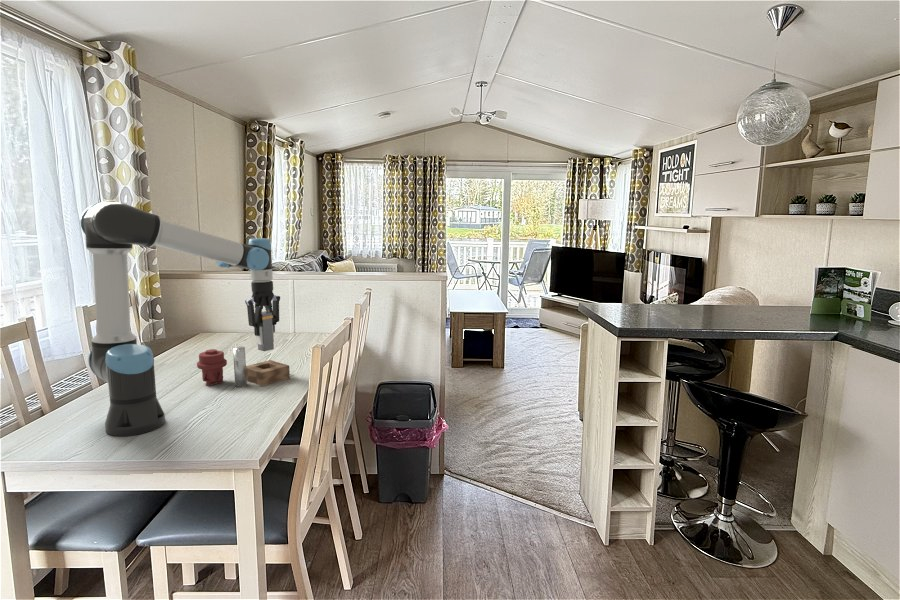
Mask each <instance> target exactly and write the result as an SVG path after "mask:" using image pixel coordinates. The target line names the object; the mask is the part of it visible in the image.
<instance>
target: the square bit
mask: <svg viewBox="0 0 900 600" xmlns="http://www.w3.org/2000/svg"><path fill="white" fill-rule="evenodd" d="M272 318H273V315H272V313H271V312H266V310H265V311H262V314H261V322H260V327H262V336H263V344H262V345H260V344H257V350H258V351H261V352H268V351H273V350H275V349H274V347H275V346H274V342H273V325H272Z"/></svg>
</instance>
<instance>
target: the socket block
mask: <svg viewBox="0 0 900 600" xmlns="http://www.w3.org/2000/svg"><path fill="white" fill-rule="evenodd" d="M290 375H291V373H290V365H289V364H285V363H282V362H279V361H275V360H271V359H269V360H266V361H262V362H261V361H260V362H257V363H253V364H249V365H246V376H247V383H248V382H249V383H252V384H254V385H257V386H261V387H264V386H267V385H271V384H275V383H277V382H282V381H285V380H288V379H290V378H291V376H290Z"/></svg>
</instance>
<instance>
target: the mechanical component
mask: <svg viewBox="0 0 900 600" xmlns="http://www.w3.org/2000/svg"><path fill="white" fill-rule="evenodd" d="M227 361H228V360H227V359H226V358H225V352H224V351H222V350H218V349H215V348H211V349H207V350H205V351H202V352H200V353H199V354H198V361H197V362H196V368H197V369H200V370H201V377H202V378H201V379H202V381H203V382H205V383H206V386H213V385H215V384H223V382H224V367H226V366H227V365H228V362H227Z"/></svg>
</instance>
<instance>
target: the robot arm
mask: <svg viewBox="0 0 900 600" xmlns="http://www.w3.org/2000/svg"><path fill="white" fill-rule="evenodd" d="M79 224H80V227H81V230H82V232H83V234H84V235H85V247H86V250H88V251H89V252H90V253H91V254H92V260H93V262H92V263H93V278H94V279H93V280H94V297H95V314H96V316H95V317H96V319H95V320H96V333H97V334H96V335H95V336H94V337H93V338H91V350H90V353H88V361H87V362H88V366H89V368H90V371H91V372H92V374H94V375H95V376H96V377H97V378H99V379H100V380H102V381H104V382H106V383H107V384H108V393H109V394H108V395H109V403H110V404H109V407H108V410H107V411H108V412H107V415H106V419H105V422H104V429H105V433H106V434H107V435H109V436H114V437H117V436H118V437H127V436H135V435H136V436H137V435H142V434H145V433H148V432H149V433H150V432H152V431H154V430H157V429H158V428H160V427H162V426H163V425H164V424H165V423H166V415H165V414H166V413H165V412H164V409H163V408H162V406H161V404H160V402H159V400H158V397H157V387H156V374H155V358H154V354H153V350H152V349H151V348H150V347H149V346H148V345H145V344H138V342H137V341H138V339H137V336H136V335H135V334H134V333H132V331H131V315H130V313H131V312H130V292H129V291H130V290H129V271H128V254H129V253H130V251H132V250H133V246H134V245H136V246H142V247H146V248H152V247H161V248H164V249H169V250H172V251H176V252H181V253H183V254H188V255H193V256H196V257H199V258H200V257H201V258H204V259H207V260H212V261H215V263H216V264H217V266H218V267H220V268H228V269H229V268H238V269H247V270H250V280H251V283H250V284H251V285H250V286H251V293H252V295H251V297H250V298H249V299H245V301H244V303H245V305H246V309H247V319H248V326H250V327H253V328H254V329H253V331H254V336H255V337H256V344H257V345H258V344H260V345H262V344H263V336H262V327H260V322H261V314H262V312H263V309H264V308H265V311H266V312H271V313H272V315H273V318H272V325H273V343H274V342H275V338H274V336H275V335H274V333H275V332H276V325H277V323H279V322H280V300H281V296H280V295H275V294H274V292H273V291H274V281H272V280H273V261H272V259H273V258H272V255H273V254H272V252H273V251H272V244H271V240H270V239H269V238H265V237H263V238H261V237H259V238H258V237H257V238H249V240H248V243H246V244H244V243H241V242H237V241H235V240H230V239H227V238H224V237H220V236H217V235H213V234H211V233H206V232H202V231H200V230H197V229H193V228H189V227H185V226H182V225H179V224H175V223H172V222H169V221H165V220H162V219H161V217H160V215H158V214H157V215H156V214H153V213H151V212H149V211H145V210H143V209H140V208H138V207H135V206H133V205H129V204H126V203H123V202H117V201H114V202H108V201H100V202H96V203H94V204H92V205H90V206H88V207H87V208H86V209H85V210H84V211H83V212H82V214H81V215H80V223H79Z"/></svg>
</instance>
